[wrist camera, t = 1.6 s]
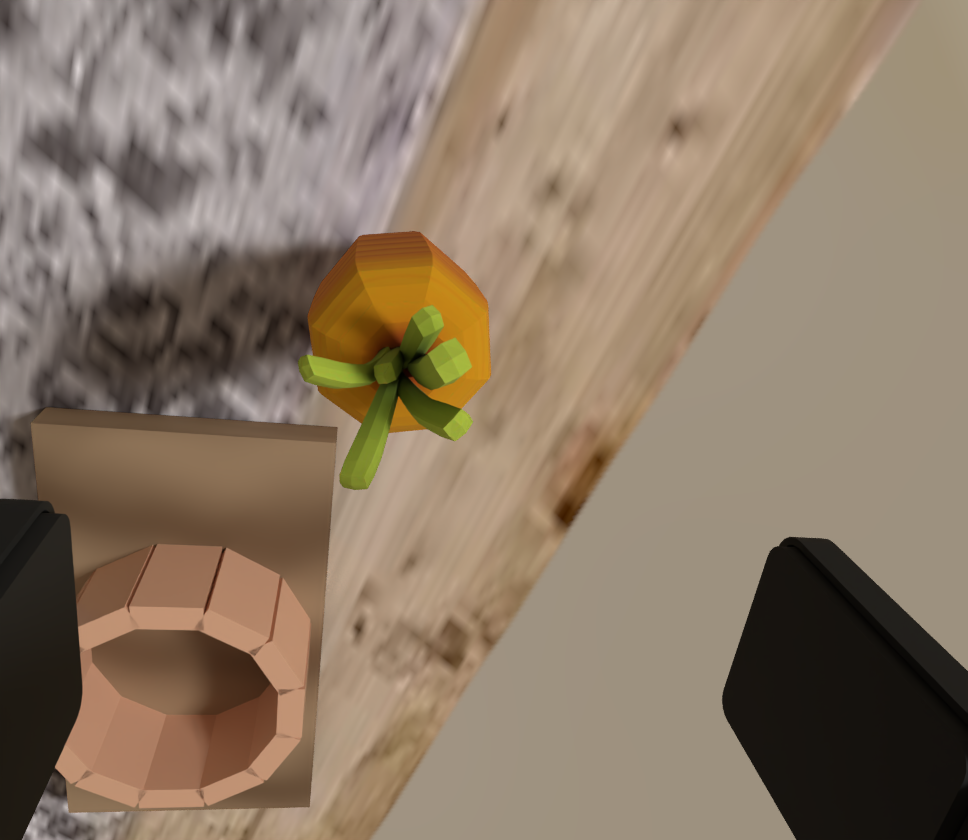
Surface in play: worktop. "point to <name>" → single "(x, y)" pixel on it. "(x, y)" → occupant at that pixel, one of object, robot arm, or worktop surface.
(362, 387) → the carrot
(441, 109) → the worktop surface
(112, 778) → the terracotta cup
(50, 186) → the worktop surface
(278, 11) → the worktop surface
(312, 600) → the walnut board
